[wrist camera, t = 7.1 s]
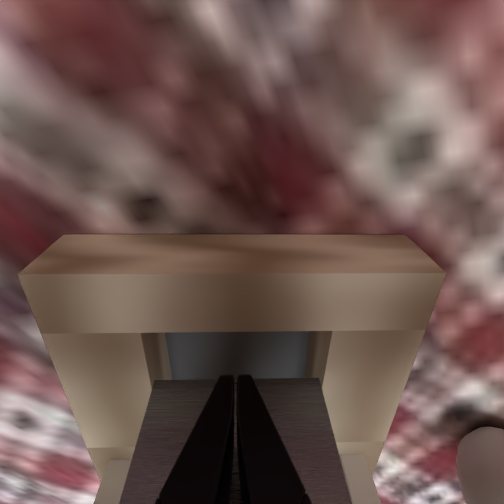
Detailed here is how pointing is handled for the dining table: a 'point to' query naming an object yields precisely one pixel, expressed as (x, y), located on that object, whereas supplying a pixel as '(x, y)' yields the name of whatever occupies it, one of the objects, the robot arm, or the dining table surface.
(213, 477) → the robot arm
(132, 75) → the dining table surface
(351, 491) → the tunnel
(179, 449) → the carriage
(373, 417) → the deck
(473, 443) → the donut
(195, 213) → the dining table surface
